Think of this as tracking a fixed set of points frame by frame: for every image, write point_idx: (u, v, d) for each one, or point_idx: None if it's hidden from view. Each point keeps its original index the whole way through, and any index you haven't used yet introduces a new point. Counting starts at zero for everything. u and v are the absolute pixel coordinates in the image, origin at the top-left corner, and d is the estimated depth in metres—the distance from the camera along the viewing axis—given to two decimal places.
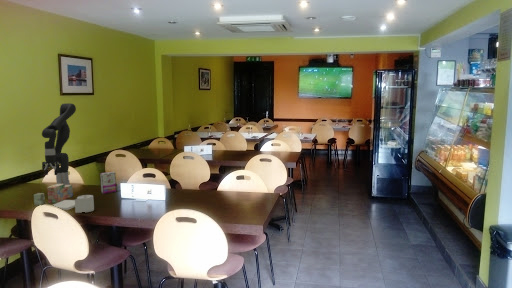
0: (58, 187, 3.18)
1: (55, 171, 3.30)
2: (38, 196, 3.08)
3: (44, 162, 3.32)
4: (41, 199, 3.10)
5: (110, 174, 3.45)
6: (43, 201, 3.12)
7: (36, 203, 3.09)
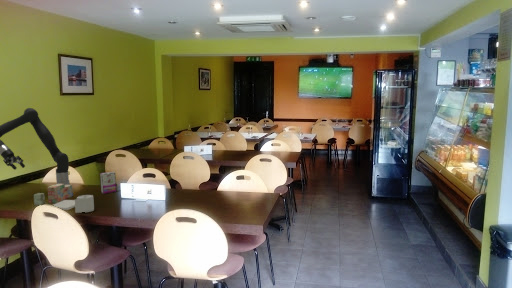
0: (58, 187, 3.19)
1: (12, 166, 3.06)
2: (38, 196, 3.08)
3: None
4: (41, 199, 3.10)
5: (110, 174, 3.45)
6: (43, 201, 3.12)
7: (36, 203, 3.09)
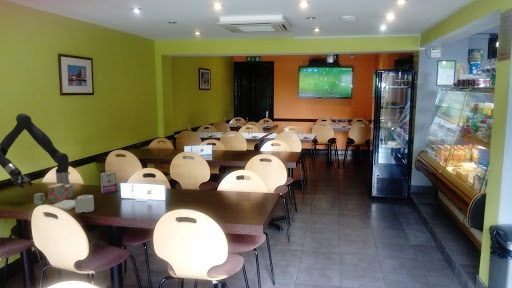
0: (58, 187, 3.19)
1: (19, 185, 3.07)
2: (38, 196, 3.08)
3: None
4: (41, 199, 3.10)
5: (110, 174, 3.45)
6: (43, 201, 3.12)
7: (36, 203, 3.09)
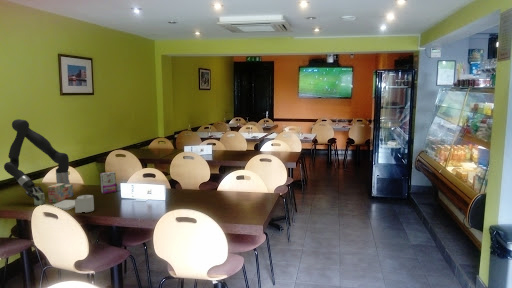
0: (59, 187, 3.19)
1: None
2: (38, 196, 3.08)
3: None
4: (41, 199, 3.10)
5: (110, 174, 3.45)
6: (43, 200, 3.12)
7: (36, 203, 3.09)
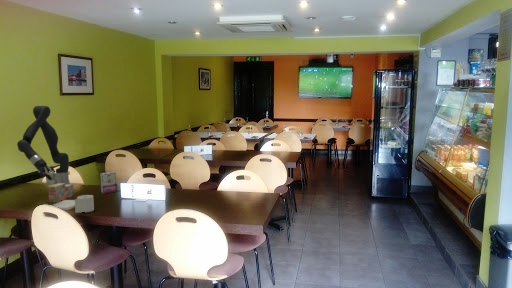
0: (59, 187, 3.20)
1: None
2: (50, 175, 3.04)
3: None
4: (53, 178, 3.05)
5: (110, 174, 3.45)
6: (55, 180, 3.08)
7: (48, 182, 3.05)
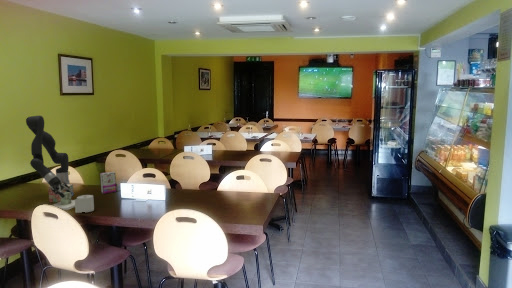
0: None
1: (60, 195, 3.02)
2: (65, 195, 3.04)
3: (62, 184, 3.12)
4: (68, 198, 3.05)
5: (110, 174, 3.45)
6: (70, 200, 3.08)
7: (63, 202, 3.05)
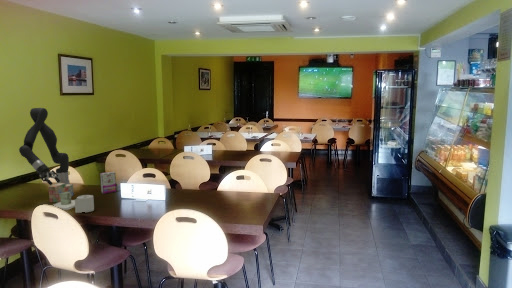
0: (59, 186, 3.21)
1: None
2: (65, 195, 3.04)
3: (50, 172, 3.13)
4: (68, 198, 3.05)
5: (110, 174, 3.45)
6: (70, 200, 3.08)
7: (63, 202, 3.05)
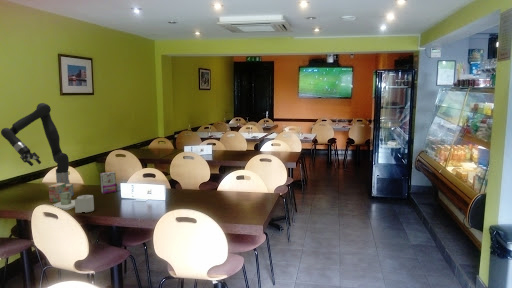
0: (59, 186, 3.21)
1: None
2: (65, 195, 3.04)
3: (32, 154, 3.23)
4: (68, 198, 3.05)
5: (110, 174, 3.45)
6: (70, 200, 3.08)
7: (63, 202, 3.05)
